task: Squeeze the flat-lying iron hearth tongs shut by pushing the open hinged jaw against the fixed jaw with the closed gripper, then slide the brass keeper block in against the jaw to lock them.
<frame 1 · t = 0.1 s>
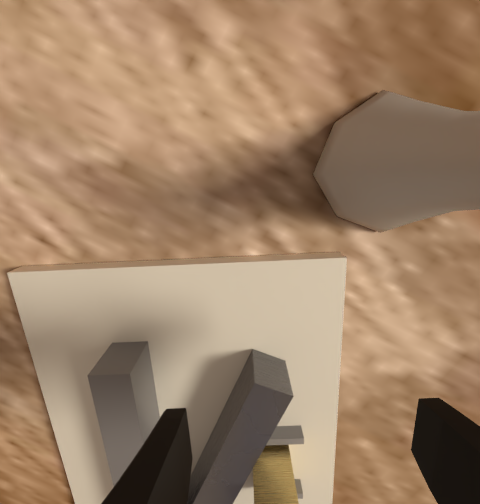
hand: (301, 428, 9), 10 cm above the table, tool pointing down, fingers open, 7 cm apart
flask: (377, 166, 16), on the table
keeper: (273, 491, 18), point 3 cm above the table, slide at 0.0 cm
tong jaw: (224, 464, 18), point 3 cm above the table, hinge at 25.0°
hearth board: (196, 412, 21), on the table
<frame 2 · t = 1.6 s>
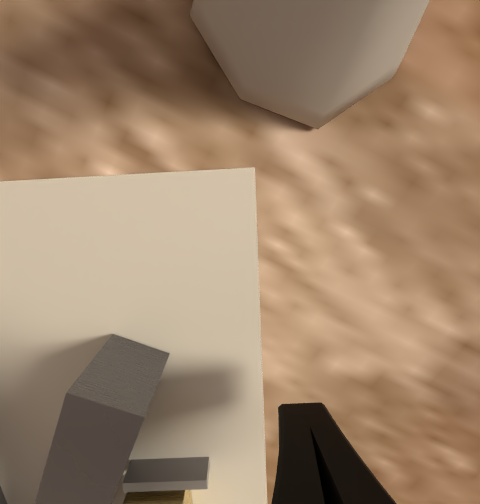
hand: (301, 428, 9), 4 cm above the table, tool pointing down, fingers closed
flask: (307, 5, 9), on the table
hearth board: (58, 435, 14), on the table
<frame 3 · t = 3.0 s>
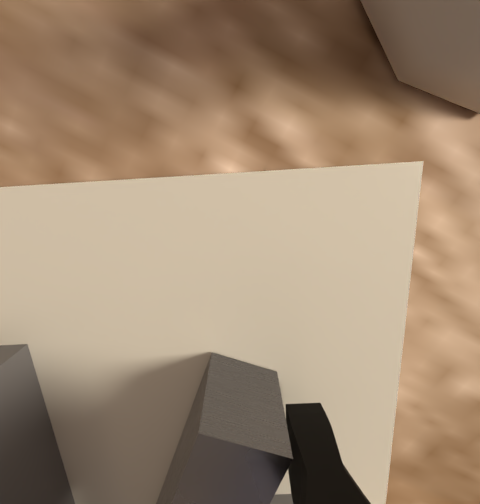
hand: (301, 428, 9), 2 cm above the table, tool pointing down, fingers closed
hearth board: (141, 465, 12), on the table
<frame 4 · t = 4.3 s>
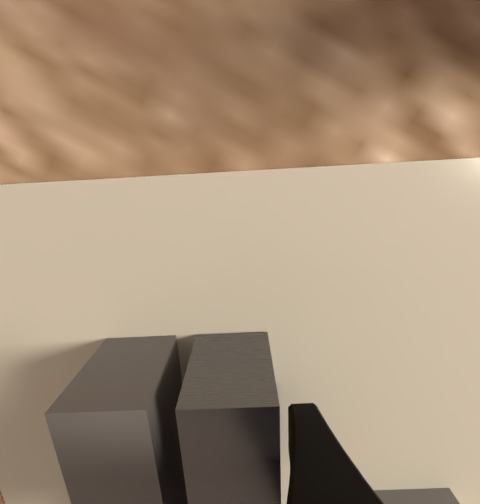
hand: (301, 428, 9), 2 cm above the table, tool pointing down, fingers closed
hearth board: (254, 460, 12), on the table
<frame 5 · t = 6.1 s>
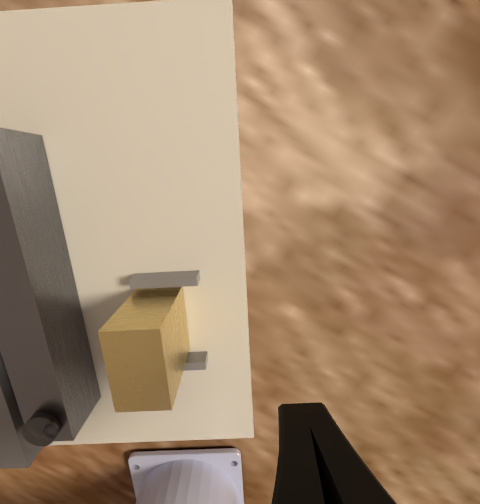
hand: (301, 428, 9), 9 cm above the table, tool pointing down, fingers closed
keeper: (152, 341, 14), point 3 cm above the table, slide at 0.0 cm
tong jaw: (31, 298, 14), point 3 cm above the table, hinge at 0.2°
hearth board: (75, 266, 17), on the table
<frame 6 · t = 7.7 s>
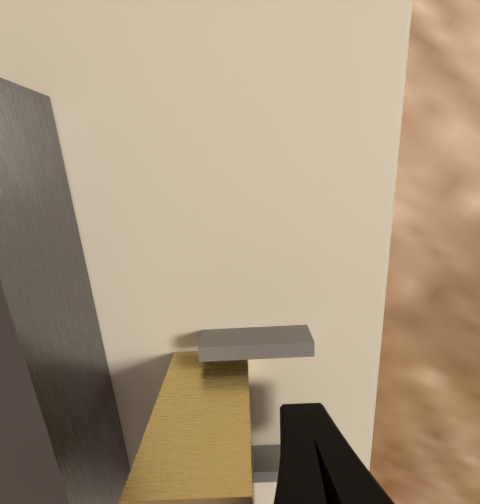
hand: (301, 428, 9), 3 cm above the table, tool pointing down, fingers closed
keeper: (208, 460, 8), point 3 cm above the table, slide at 1.0 cm, touching gripper
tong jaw: (32, 386, 8), point 3 cm above the table, hinge at 0.2°
hearth board: (100, 312, 11), on the table
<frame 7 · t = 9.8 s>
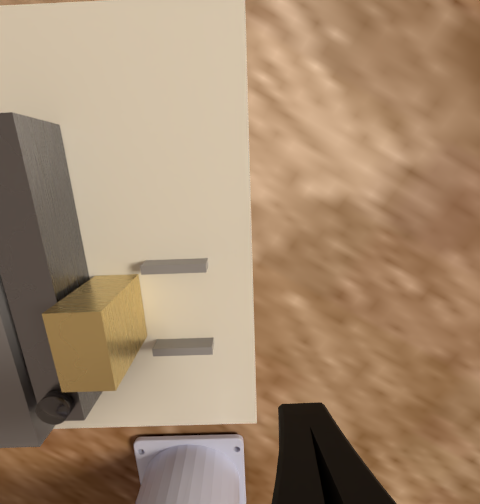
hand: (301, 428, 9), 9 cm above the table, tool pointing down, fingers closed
keeper: (104, 326, 14), point 3 cm above the table, slide at 3.0 cm
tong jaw: (46, 281, 14), point 3 cm above the table, hinge at 0.2°
hearth board: (86, 253, 17), on the table
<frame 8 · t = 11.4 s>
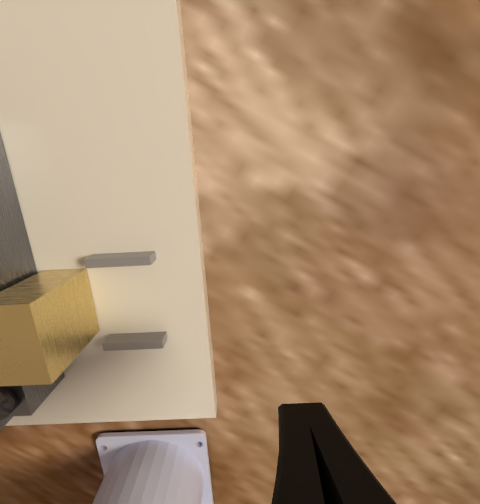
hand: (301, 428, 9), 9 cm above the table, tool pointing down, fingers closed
keeper: (47, 320, 14), point 3 cm above the table, slide at 3.0 cm
hearth board: (37, 248, 17), on the table
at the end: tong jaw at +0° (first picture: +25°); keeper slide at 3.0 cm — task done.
